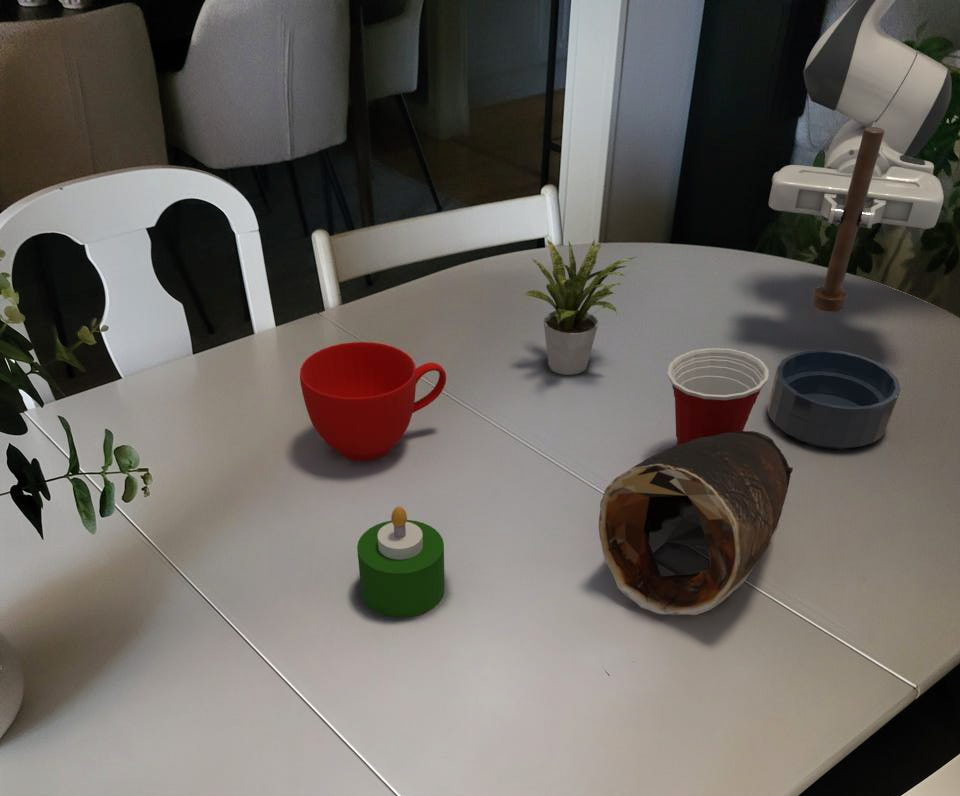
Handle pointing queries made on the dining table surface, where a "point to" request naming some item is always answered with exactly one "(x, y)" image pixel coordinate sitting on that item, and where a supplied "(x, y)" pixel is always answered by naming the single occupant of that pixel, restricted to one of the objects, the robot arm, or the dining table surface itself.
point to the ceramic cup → (363, 396)
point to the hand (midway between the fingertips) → (851, 219)
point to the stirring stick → (849, 223)
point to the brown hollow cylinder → (694, 518)
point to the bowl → (832, 398)
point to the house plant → (573, 309)
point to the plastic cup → (714, 391)
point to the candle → (401, 566)
